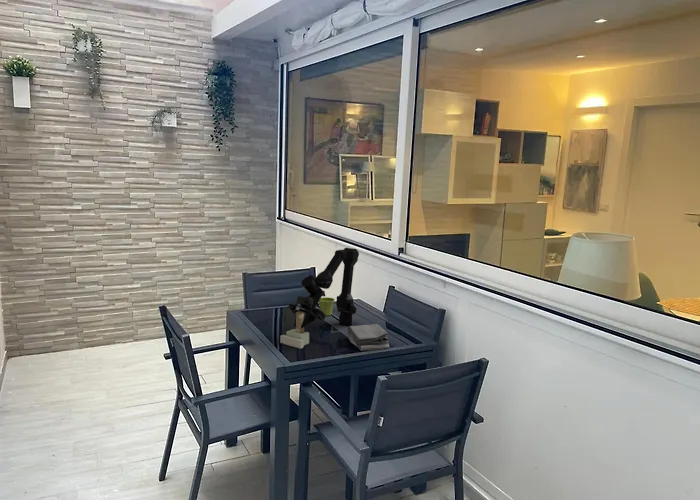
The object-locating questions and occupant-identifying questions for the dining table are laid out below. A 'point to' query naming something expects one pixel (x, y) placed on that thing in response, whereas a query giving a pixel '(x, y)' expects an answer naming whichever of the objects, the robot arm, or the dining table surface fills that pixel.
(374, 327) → the towel
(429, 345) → the dining table surface
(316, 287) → the robot arm
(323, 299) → the plant pot
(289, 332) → the block
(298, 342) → the kerb
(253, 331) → the dining table surface
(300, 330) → the dowel
